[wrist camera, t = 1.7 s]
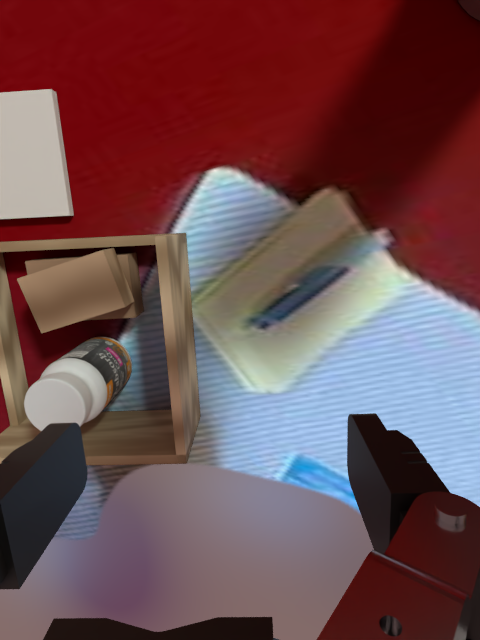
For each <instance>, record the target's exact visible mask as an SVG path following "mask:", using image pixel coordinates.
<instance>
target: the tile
mask: <svg viewBox="0 0 480 640" xmlns="http://www.w3.org/2000/svg"><path fill="white" fill-rule="evenodd" d="M58 216H74V213H73V206H72V199H71V192H70V185H69V178H68V171H67V164H66V158H65V151H64V144H63V137H62V130H61V123H60V116H59V109H58V102H57V95H56V92H55V91H53V90H52V89H47V90H33V91H18V92H4V93H0V219H19V218H38V217H58Z"/></svg>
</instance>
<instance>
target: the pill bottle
mask: <svg viewBox="0 0 480 640" xmlns="http://www.w3.org/2000/svg"><path fill="white" fill-rule="evenodd" d="M131 372H132V360H131V357H130V355H129V353H128V351H127V350H126V348H125V347H124V346H123V345H122V344H121V343H119V342H118V341H116V340H114V339H112V338H108V337H94V338H91V339H89V340H87V341H85V342H83V343H82V344H80V345H79V346H77V347H76V348H74V349H73V350H71V351H70V352H69V353H67V354H66V355H64V356H62V357H61V358H60V359H58V360H56V361H55V362H53V363H52V364H50V365H49V366H48V367H47V368H46V369H45V371H44V372H43V374H42V375H41V377H40V379H39V380H38V381H37V382H35V383H34V384H33V385H32V386H31V387H30V388H29V389H28V391H27V393H26V395H25V399H24V408H25V412H26V415H27V417H28V419H29V420H30V422H31V423H32V424H33V425H34V426H35V427H36V428H37V429H39V430H40V431H42V430H43V429H44V428H45V427H46V426H47V425H49V424H51V423H77V424H78V425H79V426H80V427H81V426H82V425H83V424H84V423H86V422H88V421H91V420H92V419H94V418H95V417H97V416H98V415H99V414H100V413H101V412H102V411H103V409H104V408H105V407H106V406H107V405H108V404H109V403H110V401H111V400H112V399H113V398H114V397H115V396H116V394H117V393H118V392H119V391H120V390H121V389H122V388H123V386H124V385H125V384H126V383H127V381H128V380H129V378H130V375H131Z"/></svg>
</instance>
